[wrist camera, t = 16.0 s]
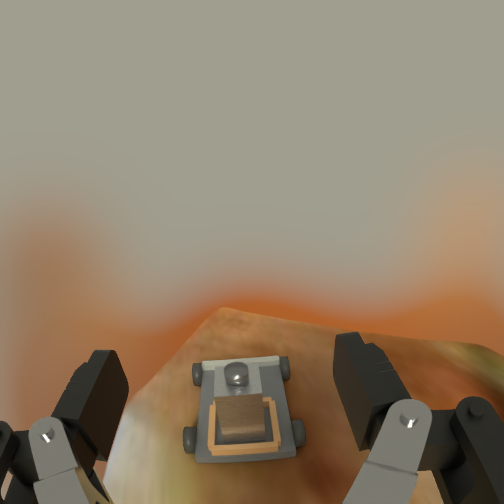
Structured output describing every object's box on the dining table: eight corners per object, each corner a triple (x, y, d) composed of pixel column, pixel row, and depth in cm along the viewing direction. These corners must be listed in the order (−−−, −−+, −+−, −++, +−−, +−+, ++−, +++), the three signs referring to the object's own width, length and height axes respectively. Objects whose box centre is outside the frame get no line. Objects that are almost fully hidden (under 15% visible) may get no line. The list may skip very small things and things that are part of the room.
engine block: (224, 415, 38) (213, 356, 34) (262, 412, 38) (257, 353, 34) (224, 444, 33) (211, 386, 30) (265, 441, 33) (261, 382, 30)
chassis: (197, 372, 49) (193, 356, 47) (286, 366, 49) (285, 349, 48) (187, 462, 32) (181, 447, 30) (305, 455, 32) (307, 439, 31)
